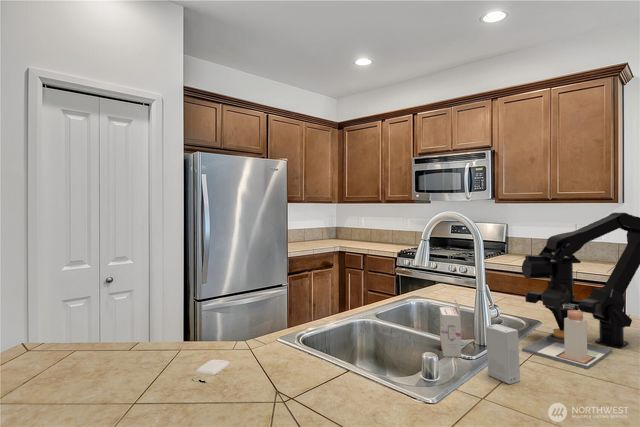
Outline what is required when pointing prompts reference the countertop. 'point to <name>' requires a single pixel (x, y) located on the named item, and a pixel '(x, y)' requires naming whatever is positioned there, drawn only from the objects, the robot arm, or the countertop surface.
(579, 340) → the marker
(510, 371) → the skincare box
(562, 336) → the button
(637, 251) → the robot arm
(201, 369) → the soap
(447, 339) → the ink cartridge box
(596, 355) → the grey flat board
